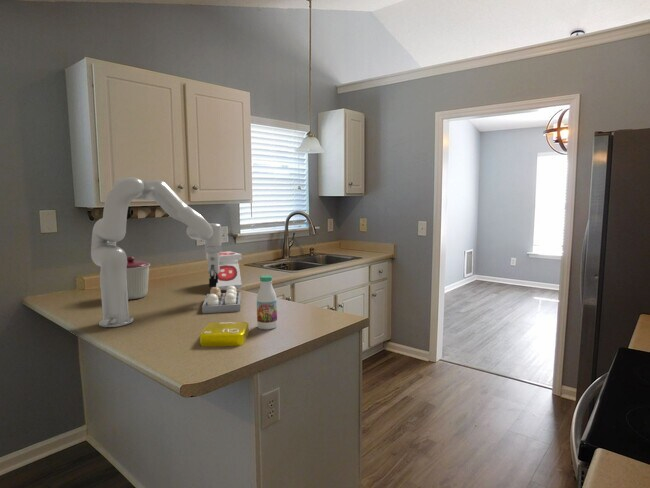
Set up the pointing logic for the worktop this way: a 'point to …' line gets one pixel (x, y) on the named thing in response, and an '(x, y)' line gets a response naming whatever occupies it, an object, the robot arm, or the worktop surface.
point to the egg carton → (223, 302)
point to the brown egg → (215, 291)
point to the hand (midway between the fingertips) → (213, 284)
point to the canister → (137, 278)
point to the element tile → (224, 334)
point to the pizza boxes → (229, 270)
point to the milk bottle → (266, 304)
